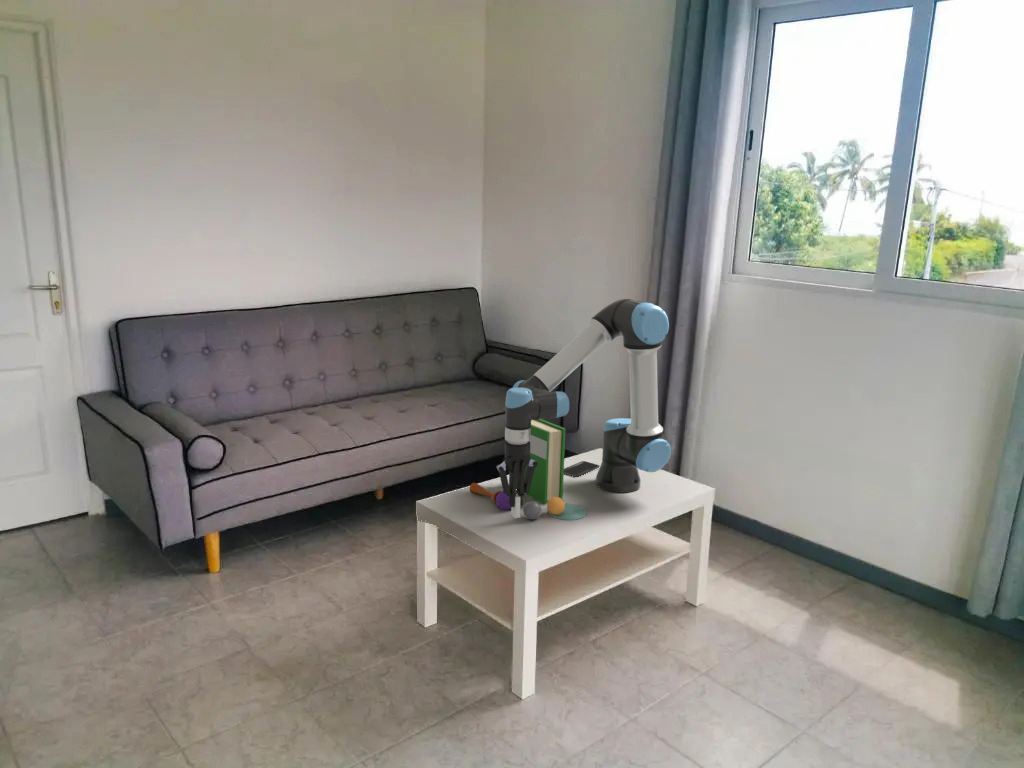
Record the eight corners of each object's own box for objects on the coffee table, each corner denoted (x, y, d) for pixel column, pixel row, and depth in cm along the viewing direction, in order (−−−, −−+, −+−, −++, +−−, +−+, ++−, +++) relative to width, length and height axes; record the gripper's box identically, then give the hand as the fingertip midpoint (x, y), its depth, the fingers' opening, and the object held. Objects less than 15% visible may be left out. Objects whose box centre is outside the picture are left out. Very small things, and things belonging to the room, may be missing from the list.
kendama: (481, 478, 249) (520, 492, 234) (479, 496, 249) (517, 511, 234) (467, 479, 245) (505, 493, 230) (465, 496, 246) (502, 512, 230)
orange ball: (551, 517, 233) (564, 506, 234) (557, 519, 228) (570, 508, 229) (541, 503, 232) (554, 492, 234) (546, 505, 227) (560, 494, 228)
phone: (558, 470, 267) (583, 460, 278) (558, 473, 267) (583, 463, 278) (577, 476, 262) (601, 465, 273) (576, 479, 262) (601, 468, 273)
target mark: (582, 504, 240) (582, 503, 240) (590, 519, 228) (590, 518, 228) (545, 504, 238) (545, 504, 238) (551, 520, 227) (551, 519, 226)
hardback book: (562, 499, 243) (565, 428, 237) (544, 504, 239) (547, 432, 233) (529, 482, 257) (531, 415, 251) (511, 487, 252) (513, 418, 247)
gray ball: (516, 509, 226) (525, 521, 229) (529, 512, 222) (537, 524, 225) (526, 496, 229) (535, 508, 231) (539, 498, 225) (547, 510, 227)
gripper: (503, 447, 213) (501, 524, 218) (543, 441, 219) (540, 517, 224) (491, 439, 219) (490, 514, 225) (531, 434, 225) (528, 507, 231)
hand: (515, 515), depth 225 cm, fingers closed
